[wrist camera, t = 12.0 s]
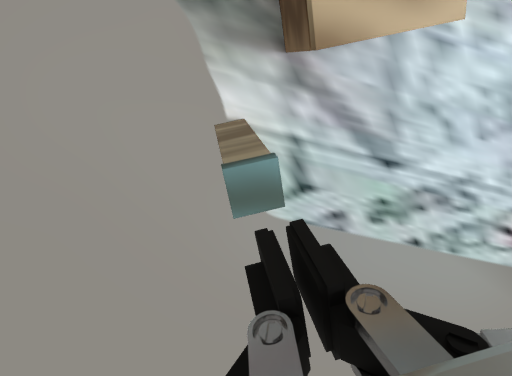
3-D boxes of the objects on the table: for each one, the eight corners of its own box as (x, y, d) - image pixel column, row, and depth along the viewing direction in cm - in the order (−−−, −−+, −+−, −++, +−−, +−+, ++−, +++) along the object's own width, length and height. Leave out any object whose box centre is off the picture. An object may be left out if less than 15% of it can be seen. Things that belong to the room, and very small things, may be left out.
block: (212, 124, 31) (222, 169, 18) (245, 117, 31) (277, 157, 18) (219, 155, 32) (233, 218, 19) (251, 148, 33) (285, 206, 20)
